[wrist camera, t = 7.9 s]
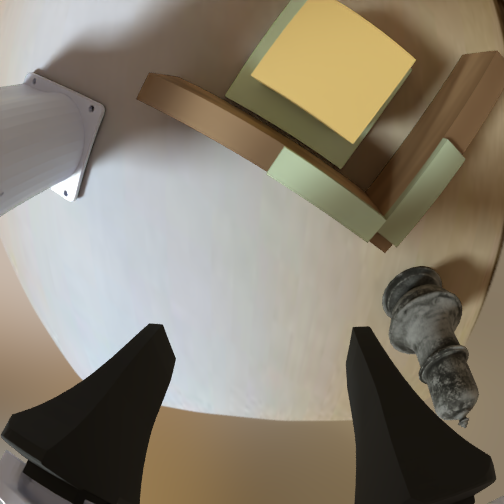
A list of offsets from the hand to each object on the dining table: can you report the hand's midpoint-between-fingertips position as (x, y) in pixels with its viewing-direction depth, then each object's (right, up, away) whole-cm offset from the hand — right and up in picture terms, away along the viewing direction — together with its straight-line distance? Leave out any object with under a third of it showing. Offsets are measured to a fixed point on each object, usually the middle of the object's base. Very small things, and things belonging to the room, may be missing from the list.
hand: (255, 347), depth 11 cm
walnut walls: (+5, +14, +3) cm, 15 cm away
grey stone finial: (+12, 0, +10) cm, 16 cm away
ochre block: (+4, +13, +3) cm, 14 cm away
